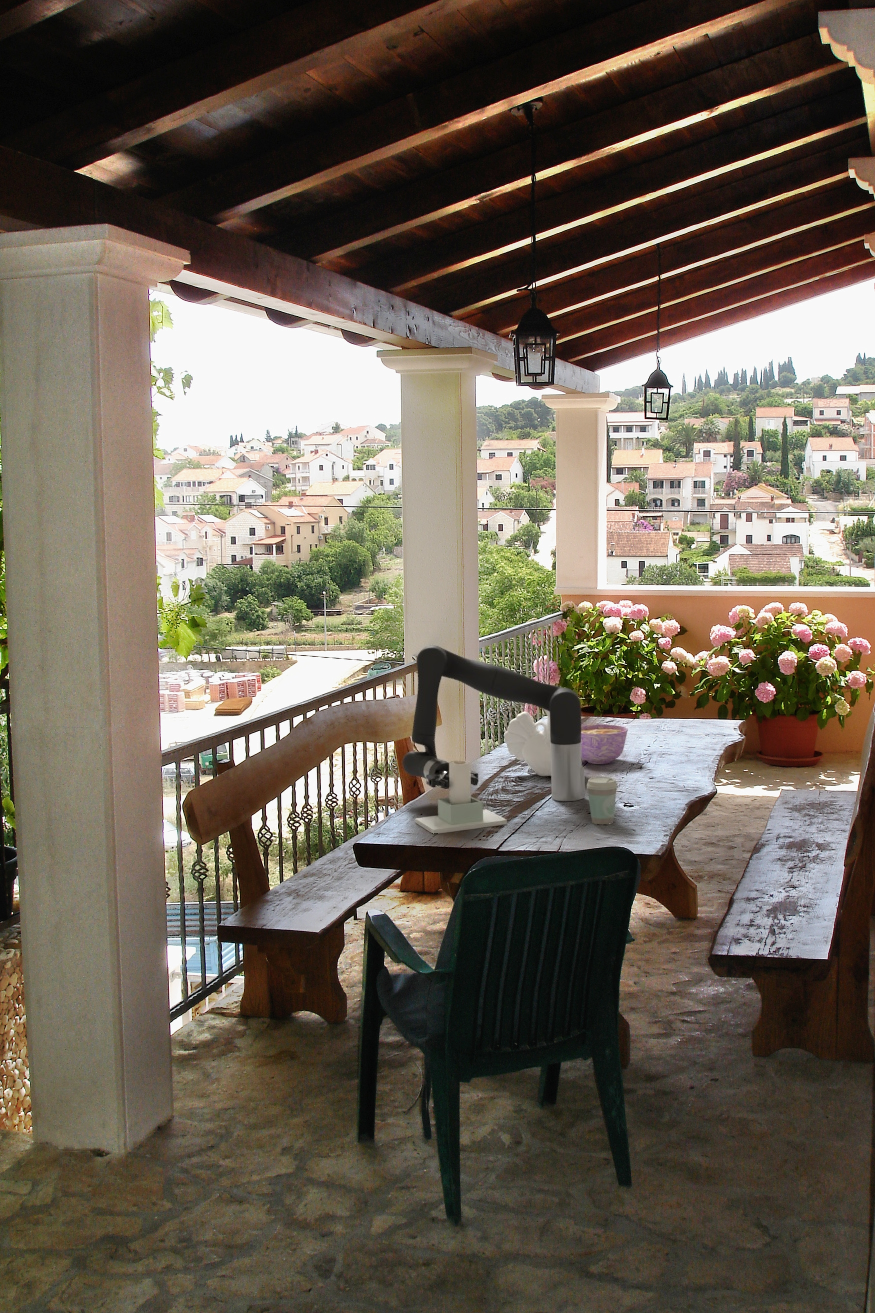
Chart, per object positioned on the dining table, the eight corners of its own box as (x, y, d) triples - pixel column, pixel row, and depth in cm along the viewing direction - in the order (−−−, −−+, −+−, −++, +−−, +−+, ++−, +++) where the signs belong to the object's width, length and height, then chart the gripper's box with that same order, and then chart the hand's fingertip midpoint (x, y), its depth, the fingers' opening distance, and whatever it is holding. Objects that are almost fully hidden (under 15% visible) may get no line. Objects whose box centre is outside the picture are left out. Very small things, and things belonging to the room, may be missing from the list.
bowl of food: (626, 755, 400) (625, 723, 398) (630, 767, 380) (629, 733, 379) (570, 756, 402) (569, 724, 400) (571, 767, 382) (570, 734, 381)
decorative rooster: (587, 772, 374) (586, 698, 372) (568, 781, 361) (566, 705, 358) (520, 766, 387) (518, 695, 384) (499, 775, 373) (497, 702, 371)
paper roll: (466, 815, 316) (465, 759, 314) (474, 820, 310) (474, 763, 309) (446, 817, 314) (445, 761, 312) (454, 822, 308) (454, 765, 307)
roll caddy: (486, 813, 323) (485, 791, 322) (507, 824, 310) (506, 801, 309) (415, 822, 315) (414, 800, 314) (433, 834, 302) (432, 810, 301)
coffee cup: (602, 828, 302) (601, 784, 301) (580, 822, 309) (579, 779, 308) (624, 822, 307) (624, 779, 306) (602, 817, 314) (602, 775, 313)
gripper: (416, 762, 321) (437, 773, 306) (462, 757, 326) (485, 767, 311) (417, 788, 322) (438, 799, 307) (463, 782, 327) (485, 794, 312)
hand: (462, 783), depth 309 cm, fingers open, 8 cm apart
